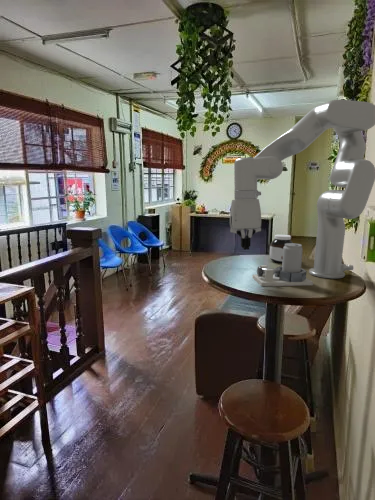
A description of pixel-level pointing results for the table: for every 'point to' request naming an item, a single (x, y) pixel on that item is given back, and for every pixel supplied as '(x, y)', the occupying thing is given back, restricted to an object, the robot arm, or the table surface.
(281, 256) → the spread jar
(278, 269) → the lock pin
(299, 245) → the beverage can
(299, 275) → the socket
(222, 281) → the table surface
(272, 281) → the dock board
